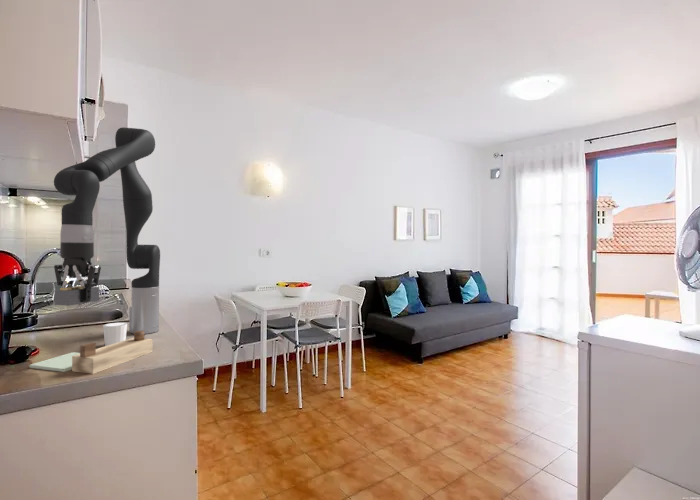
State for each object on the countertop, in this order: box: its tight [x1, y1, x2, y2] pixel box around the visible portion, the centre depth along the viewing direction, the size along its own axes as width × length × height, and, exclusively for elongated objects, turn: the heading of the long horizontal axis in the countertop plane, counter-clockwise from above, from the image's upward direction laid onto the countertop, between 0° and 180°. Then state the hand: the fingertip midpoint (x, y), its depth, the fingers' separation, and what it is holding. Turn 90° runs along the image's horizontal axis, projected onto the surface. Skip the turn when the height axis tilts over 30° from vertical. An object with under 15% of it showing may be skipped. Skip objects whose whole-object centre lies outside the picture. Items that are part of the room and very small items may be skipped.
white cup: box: [102, 321, 128, 347], centre depth 122 cm, size 7×7×7 cm
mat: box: [29, 351, 80, 373], centre depth 104 cm, size 12×12×1 cm
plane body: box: [71, 331, 154, 375], centre depth 106 cm, size 7×20×7 cm, turn 166°
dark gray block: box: [53, 285, 100, 307], centre depth 104 cm, size 5×9×5 cm, turn 167°
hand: (77, 301), depth 104 cm, fingers closed on dark gray block, 5 cm apart
